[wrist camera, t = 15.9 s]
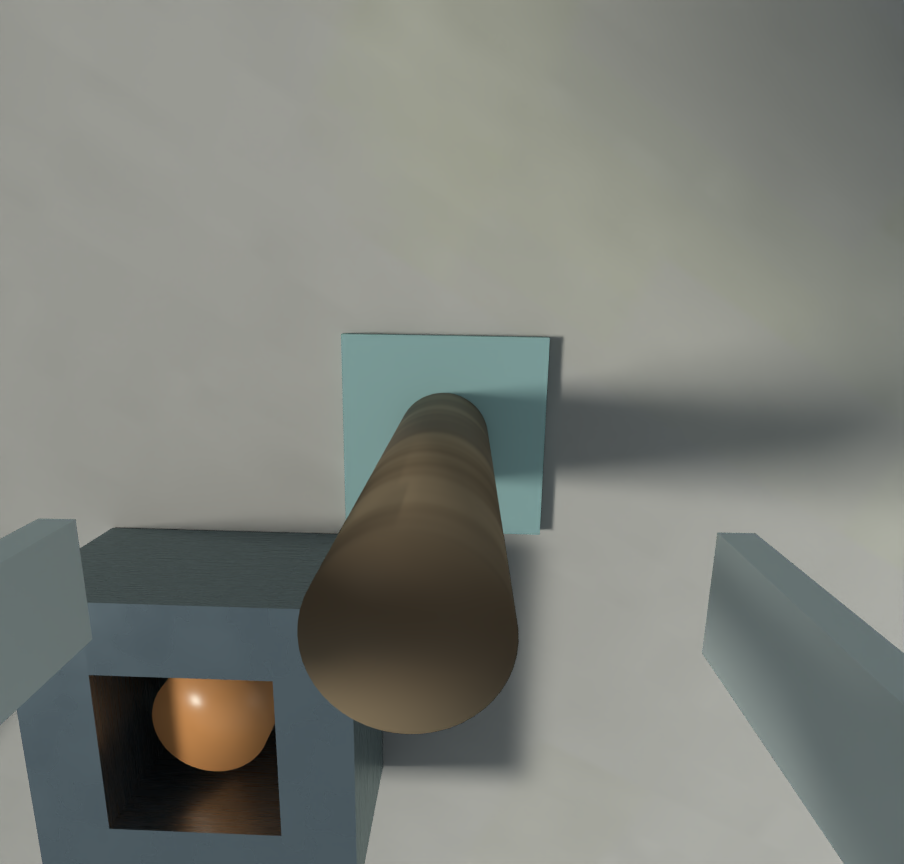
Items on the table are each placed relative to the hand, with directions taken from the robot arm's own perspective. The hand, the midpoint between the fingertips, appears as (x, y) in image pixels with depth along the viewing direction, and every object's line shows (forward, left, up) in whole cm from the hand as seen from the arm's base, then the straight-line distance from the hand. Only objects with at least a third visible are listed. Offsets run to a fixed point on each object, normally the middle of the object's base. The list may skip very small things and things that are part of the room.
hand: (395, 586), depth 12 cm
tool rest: (0, 0, -15) cm, 15 cm away
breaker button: (+12, -9, -15) cm, 21 cm away
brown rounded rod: (0, 0, -14) cm, 14 cm away
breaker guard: (+12, -9, -15) cm, 21 cm away
